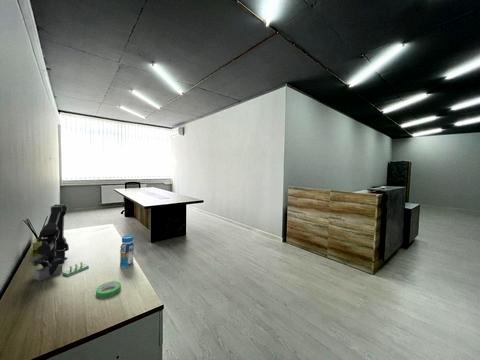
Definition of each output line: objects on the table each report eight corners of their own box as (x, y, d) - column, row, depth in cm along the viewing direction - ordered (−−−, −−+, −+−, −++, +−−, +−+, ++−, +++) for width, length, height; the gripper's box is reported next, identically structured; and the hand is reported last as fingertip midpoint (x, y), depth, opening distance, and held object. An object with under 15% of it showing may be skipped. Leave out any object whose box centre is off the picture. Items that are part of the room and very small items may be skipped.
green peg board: (62, 274, 119) (62, 267, 119) (83, 266, 131) (83, 259, 131) (67, 276, 118) (67, 269, 118) (88, 267, 129) (88, 261, 129)
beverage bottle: (118, 264, 135) (119, 236, 135) (132, 261, 141) (133, 234, 140) (120, 269, 129) (121, 239, 128) (134, 266, 134) (135, 237, 134)
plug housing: (34, 279, 113) (34, 270, 113) (57, 270, 124) (57, 262, 123) (39, 281, 111) (39, 272, 111) (62, 272, 122) (62, 264, 122)
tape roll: (102, 301, 98) (102, 295, 98) (92, 293, 104) (92, 288, 104) (124, 290, 107) (124, 285, 107) (114, 283, 113) (114, 279, 113)
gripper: (22, 250, 113) (21, 276, 113) (41, 256, 106) (40, 284, 107) (46, 244, 123) (46, 268, 124) (65, 249, 117) (64, 275, 117)
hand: (48, 273), depth 117 cm, fingers closed on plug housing, 5 cm apart
